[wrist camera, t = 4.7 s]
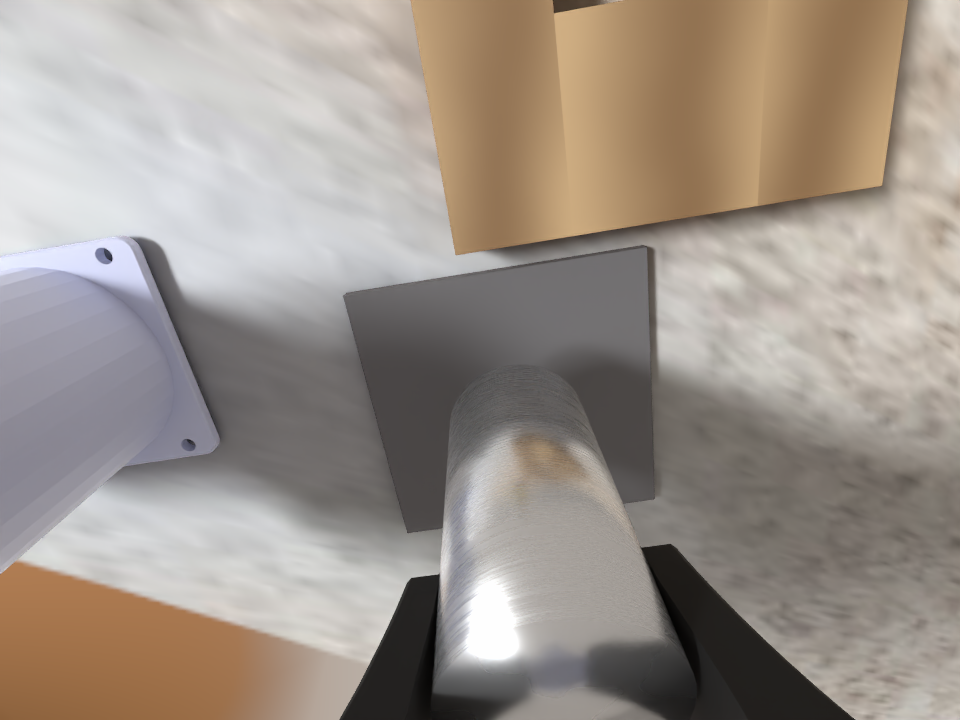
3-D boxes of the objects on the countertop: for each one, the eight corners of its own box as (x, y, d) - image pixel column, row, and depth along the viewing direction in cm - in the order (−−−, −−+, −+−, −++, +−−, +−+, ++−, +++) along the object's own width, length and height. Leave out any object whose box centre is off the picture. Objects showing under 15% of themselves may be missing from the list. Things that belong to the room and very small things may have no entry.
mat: (408, 526, 20) (407, 532, 20) (346, 293, 17) (343, 296, 16) (651, 492, 20) (654, 499, 20) (642, 245, 16) (647, 247, 16)
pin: (453, 481, 16) (438, 786, 8) (446, 366, 14) (420, 624, 7) (579, 477, 16) (676, 778, 8) (588, 362, 14) (719, 613, 7)
